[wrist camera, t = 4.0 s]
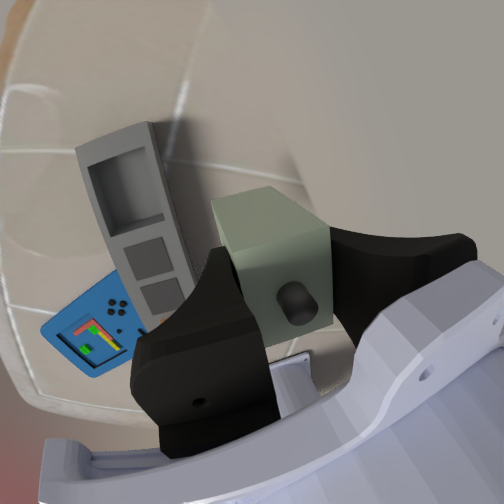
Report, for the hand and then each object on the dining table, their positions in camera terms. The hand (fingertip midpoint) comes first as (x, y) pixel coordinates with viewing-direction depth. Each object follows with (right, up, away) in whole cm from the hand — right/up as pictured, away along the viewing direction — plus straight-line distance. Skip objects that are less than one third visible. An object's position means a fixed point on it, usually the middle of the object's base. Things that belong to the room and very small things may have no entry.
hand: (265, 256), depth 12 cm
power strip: (-8, -1, +10) cm, 13 cm away
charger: (-1, +1, +2) cm, 3 cm away
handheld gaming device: (-14, -7, +12) cm, 19 cm away
